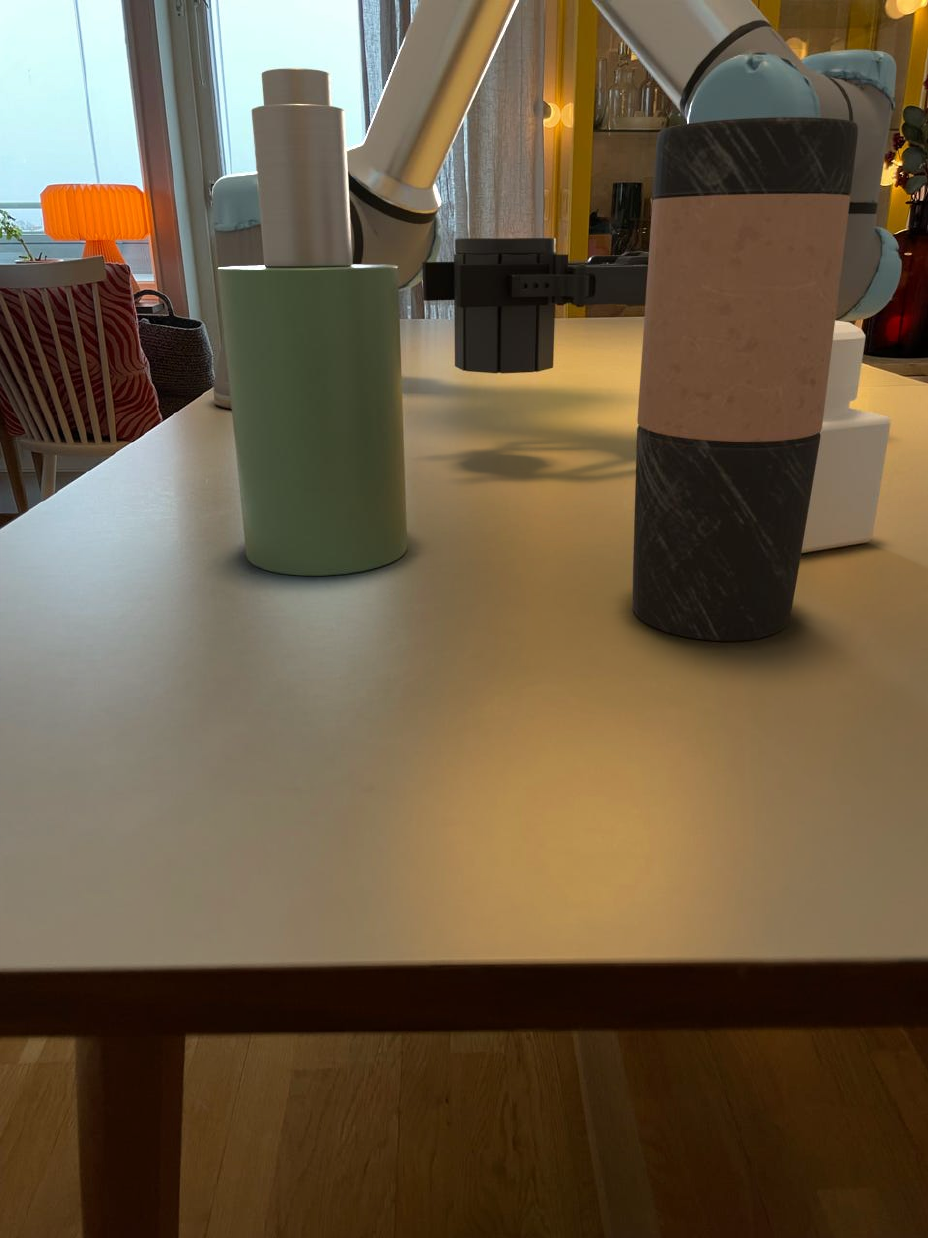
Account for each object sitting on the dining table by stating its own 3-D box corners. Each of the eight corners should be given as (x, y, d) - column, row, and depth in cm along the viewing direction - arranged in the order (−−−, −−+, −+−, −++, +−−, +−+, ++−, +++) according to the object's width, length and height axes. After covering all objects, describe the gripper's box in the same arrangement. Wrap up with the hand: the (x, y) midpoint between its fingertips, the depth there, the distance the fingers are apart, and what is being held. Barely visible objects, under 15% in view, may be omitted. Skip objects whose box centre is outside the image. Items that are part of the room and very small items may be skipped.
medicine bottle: (694, 526, 56) (711, 318, 52) (787, 512, 59) (812, 313, 55) (774, 560, 50) (801, 327, 46) (874, 543, 53) (910, 321, 48)
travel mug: (806, 650, 39) (881, 112, 32) (622, 637, 41) (652, 120, 33) (786, 589, 46) (843, 135, 39) (629, 579, 48) (655, 141, 40)
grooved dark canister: (446, 362, 73) (444, 238, 69) (534, 359, 74) (536, 237, 71) (469, 374, 66) (469, 238, 63) (565, 371, 68) (570, 237, 65)
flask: (243, 534, 56) (197, 85, 47) (391, 522, 58) (374, 90, 49) (250, 583, 48) (196, 52, 39) (422, 567, 50) (408, 60, 41)
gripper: (792, 339, 66) (490, 352, 59) (648, 318, 84) (403, 326, 77) (806, 224, 64) (491, 224, 56) (654, 227, 81) (400, 227, 74)
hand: (440, 283), depth 67 cm, fingers closed on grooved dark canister, 7 cm apart
